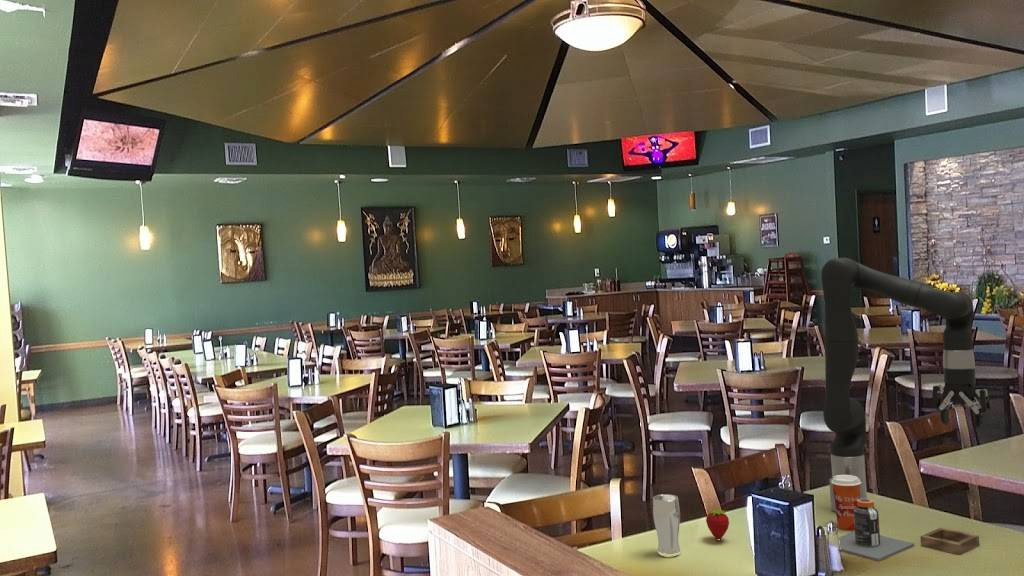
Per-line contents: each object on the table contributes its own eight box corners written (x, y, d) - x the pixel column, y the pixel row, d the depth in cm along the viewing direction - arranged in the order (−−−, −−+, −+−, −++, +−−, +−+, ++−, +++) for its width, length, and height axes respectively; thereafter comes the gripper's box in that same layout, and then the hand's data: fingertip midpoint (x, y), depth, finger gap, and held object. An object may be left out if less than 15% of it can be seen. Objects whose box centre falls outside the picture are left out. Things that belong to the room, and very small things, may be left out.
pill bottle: (884, 546, 210) (881, 502, 209) (861, 547, 210) (858, 503, 210) (874, 539, 216) (871, 496, 215) (851, 540, 216) (849, 497, 216)
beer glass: (684, 550, 219) (680, 494, 219) (680, 559, 212) (676, 501, 212) (658, 548, 221) (654, 493, 221) (653, 557, 214) (650, 500, 214)
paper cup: (833, 530, 226) (830, 480, 226) (834, 522, 233) (831, 473, 233) (864, 532, 223) (861, 481, 223) (864, 523, 230) (860, 474, 230)
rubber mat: (822, 546, 215) (822, 543, 215) (857, 532, 224) (857, 529, 224) (878, 561, 201) (878, 558, 201) (914, 545, 210) (914, 543, 210)
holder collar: (920, 545, 210) (920, 536, 210) (941, 536, 215) (940, 527, 215) (959, 554, 202) (958, 544, 202) (979, 545, 207) (978, 535, 207)
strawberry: (723, 535, 229) (721, 499, 228) (734, 543, 221) (732, 506, 221) (703, 537, 228) (701, 501, 228) (713, 546, 220) (711, 509, 220)
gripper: (925, 365, 225) (928, 424, 225) (979, 369, 213) (982, 431, 213) (940, 362, 229) (943, 420, 229) (993, 366, 217) (996, 426, 217)
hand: (961, 425), depth 221 cm, fingers open, 8 cm apart
